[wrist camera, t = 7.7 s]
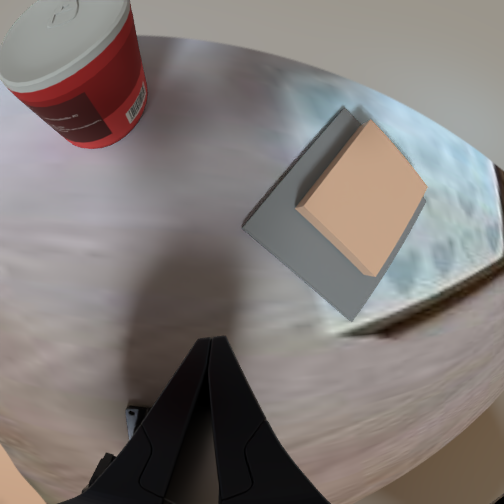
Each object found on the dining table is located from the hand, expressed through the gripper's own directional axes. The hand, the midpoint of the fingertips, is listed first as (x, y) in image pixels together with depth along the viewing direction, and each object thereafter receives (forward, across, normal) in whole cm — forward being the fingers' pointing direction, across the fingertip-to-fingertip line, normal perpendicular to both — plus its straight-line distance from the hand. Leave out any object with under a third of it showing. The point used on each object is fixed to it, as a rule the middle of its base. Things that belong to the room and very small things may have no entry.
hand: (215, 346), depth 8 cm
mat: (+15, -10, +3) cm, 18 cm away
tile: (+12, -8, +4) cm, 15 cm away
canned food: (+16, +8, -9) cm, 21 cm away
